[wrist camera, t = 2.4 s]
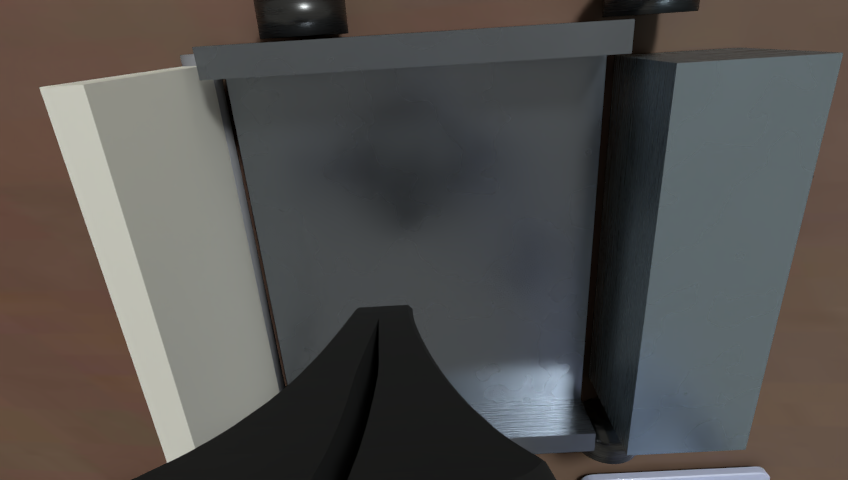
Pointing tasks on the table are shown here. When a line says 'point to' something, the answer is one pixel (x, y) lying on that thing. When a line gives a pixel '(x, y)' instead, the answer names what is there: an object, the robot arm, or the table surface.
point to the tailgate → (173, 243)
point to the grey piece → (535, 211)
